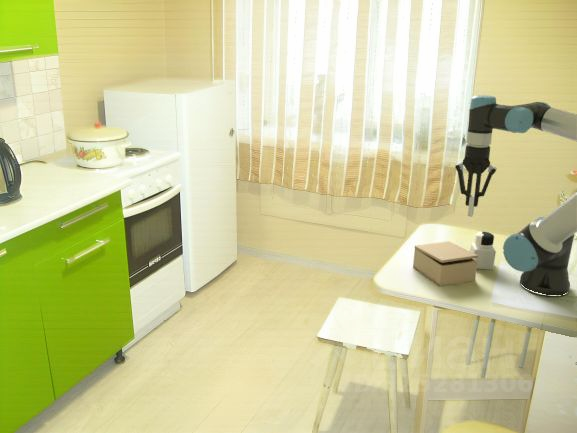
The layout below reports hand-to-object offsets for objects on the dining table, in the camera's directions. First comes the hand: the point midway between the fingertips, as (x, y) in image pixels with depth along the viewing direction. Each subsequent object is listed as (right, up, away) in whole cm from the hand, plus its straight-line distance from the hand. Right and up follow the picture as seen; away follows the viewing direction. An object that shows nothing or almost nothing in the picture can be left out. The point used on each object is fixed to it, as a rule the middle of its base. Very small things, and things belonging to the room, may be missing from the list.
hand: (470, 215), depth 203 cm
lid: (-7, -13, +4) cm, 15 cm away
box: (-7, -20, +6) cm, 22 cm away
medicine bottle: (+8, -18, +14) cm, 24 cm away
